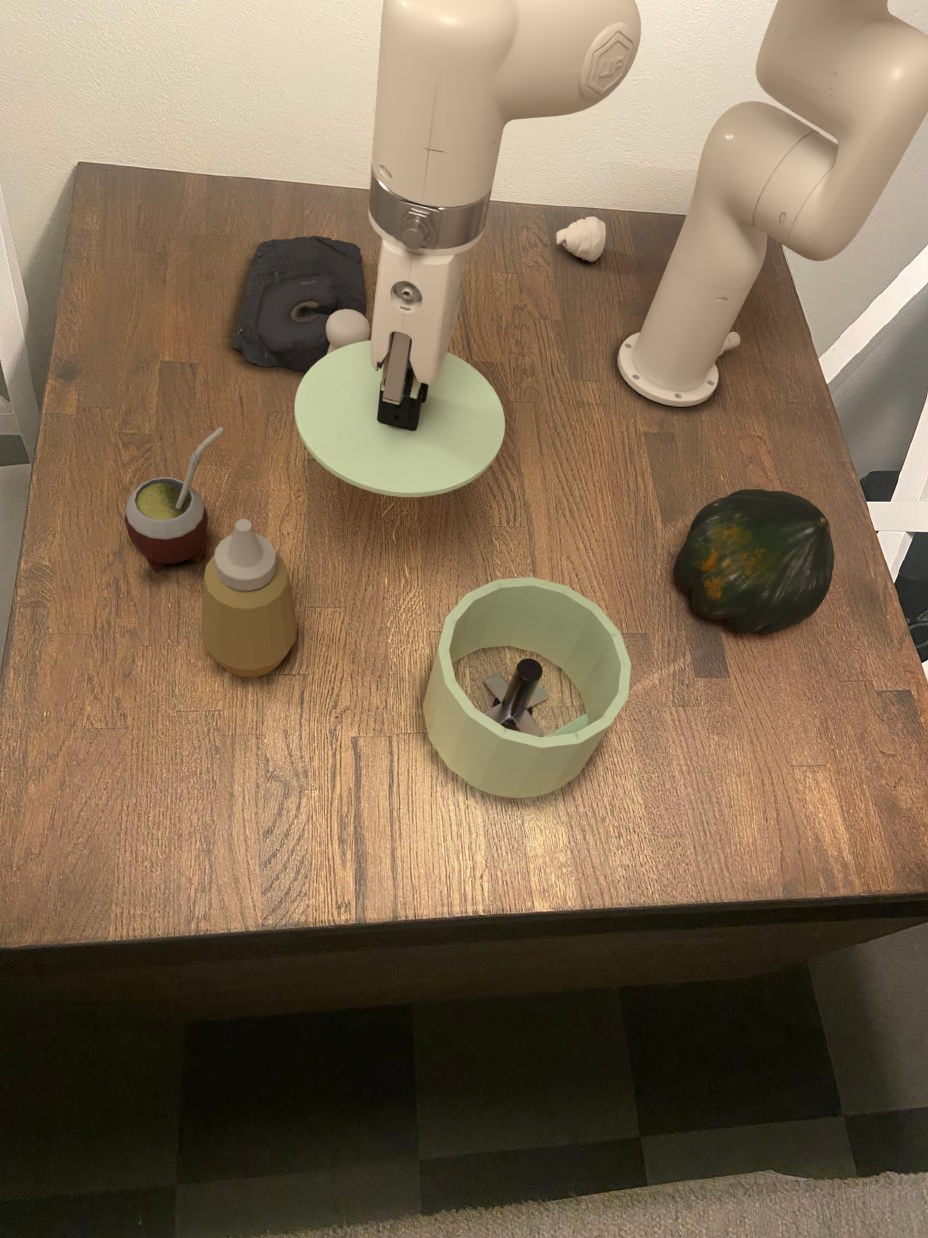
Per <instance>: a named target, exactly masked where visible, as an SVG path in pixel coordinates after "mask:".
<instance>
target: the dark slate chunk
mask: <svg viewBox="0 0 928 1238" xmlns="http://www.w3.org/2000/svg"><path fill="white" fill-rule="evenodd" d="M362 264H363V256H362V254H361V248H360V247H359V246H358V245H357V244H356V243H353V242H348V241H344V240H340V239H333V238H331V237H325V236H320V235H310V236H297V237H293V238H281V239H280V238H279V239H278V238H273V239H270V240H265V241H262V242H260V243H259V244H258V245H257V247H256V250H255V253H254V254H253V259H252V266H251V268H250V269H249V270H250V271H249V273H248V279H247V281H246V285H245V288H244V292H243V295H242V298H243V299H242V302H241V307H240V310H239V313H238V317H237V325H236V327H235V330H234V331H235V334H234V337H233V343H232V348H233V349H235V350H237V351H238V352H240V353H243V356H244V360H245V362H246V363H248V364H251V365H257V366H258V367H266V368H267V369H270V368H272V367H277V368H279V367H280V368H284V369H288V370H292V371H297V372H306V373H307V372H308V371H309V369H310V368H311V367H312V366H313V365H314V364H315V363H316V362H318V361H319V360H320V359H322V358H323V357H324V356H326V355H327V353H328V349H329V346H330V342H329V341H328V338H327V334H326V324H327V321H328V319H329V316H330V315H331V314H333V313H334V312H336V311H338V310H343V309H350V310H355V311H357V312H359V313H361V314H362V315H363V316H364V317H365V318H366V319H367V318H368V317H367V315H366V314H367V311H366V306H367V305H368V304H367V301H366V300H367V299H366V298H367V293H366V292H367V290H366V289H365V285H364V282H365V280H364V276H363V275H364V272H363V268H362Z"/></svg>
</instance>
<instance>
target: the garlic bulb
mask: <svg viewBox="0 0 928 1238" xmlns="http://www.w3.org/2000/svg"><path fill="white" fill-rule="evenodd" d="M606 237H607V230H606V224H605V222H604V221H602V220H601V219H599V218H598V217H597V216H587V217H585V218H580V219H577V220H576V221H574V222H572V223H570V224H569V225H568V227H566V228H562V229H560V230H558V231H556V233H555V238H556V242H555V243H556V245H562V246H564V248H565V250H566V251H568V252H569V253H571V254H572V255H573V256H575V257H577V258H581V260H583V261H584V262H585V261H588V262H590V263H592V262H595V261H597V260H598V259H599V258H600V257H601V255H602V254H603V252H604V248H605V245H606V240H607V239H606Z"/></svg>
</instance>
